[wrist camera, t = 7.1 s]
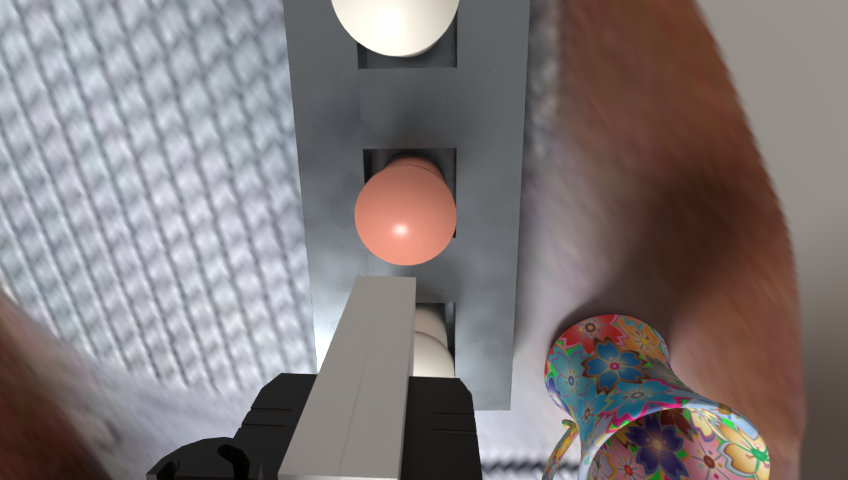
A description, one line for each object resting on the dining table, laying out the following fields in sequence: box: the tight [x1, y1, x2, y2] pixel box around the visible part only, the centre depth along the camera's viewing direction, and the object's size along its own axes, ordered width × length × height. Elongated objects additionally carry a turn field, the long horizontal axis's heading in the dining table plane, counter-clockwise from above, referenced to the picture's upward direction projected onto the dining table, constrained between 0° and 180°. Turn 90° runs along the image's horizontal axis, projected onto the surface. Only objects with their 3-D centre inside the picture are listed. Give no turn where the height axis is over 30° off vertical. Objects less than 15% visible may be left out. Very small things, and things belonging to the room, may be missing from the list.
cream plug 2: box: [413, 303, 455, 378], centre depth 28 cm, size 5×5×7 cm
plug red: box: [355, 153, 457, 265], centre depth 25 cm, size 5×5×7 cm
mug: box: [542, 314, 770, 480], centre depth 29 cm, size 12×9×11 cm
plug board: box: [283, 0, 530, 410], centre depth 28 cm, size 12×28×4 cm, turn 1°
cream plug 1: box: [331, 0, 459, 57], centre depth 20 cm, size 5×5×7 cm
